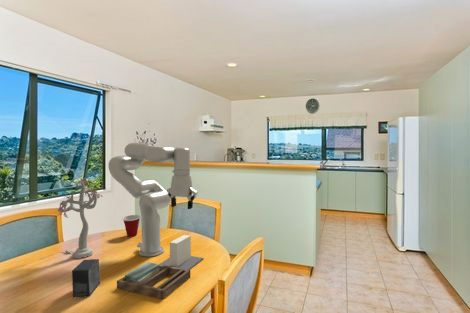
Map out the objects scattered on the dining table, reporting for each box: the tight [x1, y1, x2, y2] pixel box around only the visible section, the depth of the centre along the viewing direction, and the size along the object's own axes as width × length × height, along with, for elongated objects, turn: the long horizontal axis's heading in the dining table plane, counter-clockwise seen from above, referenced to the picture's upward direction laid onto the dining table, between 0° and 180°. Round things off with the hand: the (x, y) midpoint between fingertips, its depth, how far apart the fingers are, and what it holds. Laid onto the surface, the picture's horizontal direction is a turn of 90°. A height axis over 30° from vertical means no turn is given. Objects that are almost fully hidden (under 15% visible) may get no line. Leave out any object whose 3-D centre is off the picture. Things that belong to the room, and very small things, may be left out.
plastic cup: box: [121, 214, 141, 238], centre depth 181 cm, size 11×11×12 cm
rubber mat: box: [158, 255, 204, 271], centre depth 138 cm, size 16×16×1 cm
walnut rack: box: [116, 265, 191, 300], centre depth 119 cm, size 22×19×3 cm
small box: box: [71, 258, 101, 298], centre depth 112 cm, size 11×6×10 cm, turn 5°
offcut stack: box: [124, 261, 160, 284], centre depth 121 cm, size 7×14×4 cm, turn 158°
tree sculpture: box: [57, 177, 103, 259], centre depth 149 cm, size 28×24×40 cm
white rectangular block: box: [169, 234, 192, 267], centre depth 138 cm, size 4×12×11 cm, turn 158°
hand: (181, 207), depth 141 cm, fingers open, 9 cm apart
